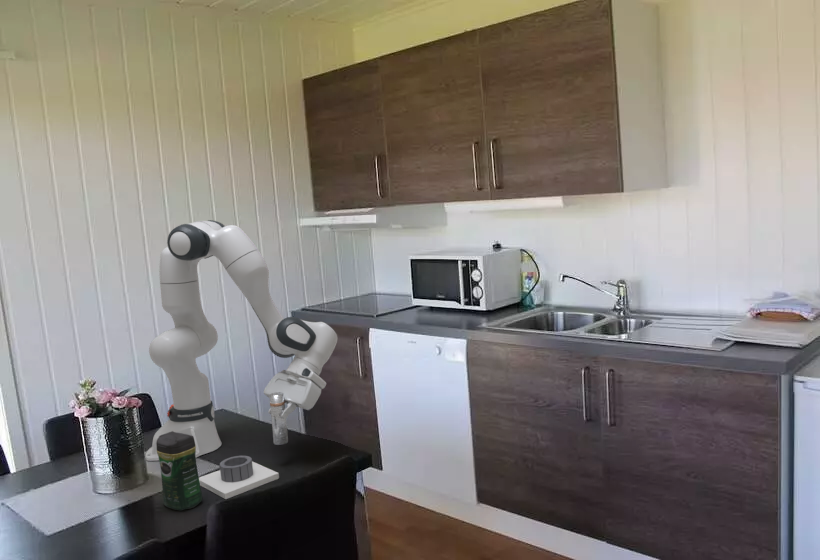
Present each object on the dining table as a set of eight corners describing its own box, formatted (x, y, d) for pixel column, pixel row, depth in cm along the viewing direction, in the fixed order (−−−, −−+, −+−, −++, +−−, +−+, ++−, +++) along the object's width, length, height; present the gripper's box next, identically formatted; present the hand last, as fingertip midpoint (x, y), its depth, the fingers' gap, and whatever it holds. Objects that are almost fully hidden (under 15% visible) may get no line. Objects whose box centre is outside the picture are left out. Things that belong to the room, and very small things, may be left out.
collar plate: (225, 499, 179) (223, 478, 178) (197, 483, 191) (194, 464, 190) (279, 478, 190) (276, 458, 189) (249, 464, 201) (246, 446, 201)
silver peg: (272, 445, 196) (268, 397, 194) (274, 440, 200) (269, 392, 198) (287, 444, 196) (283, 395, 194) (288, 438, 200) (284, 391, 198)
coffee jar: (208, 501, 179) (199, 431, 176) (181, 514, 172) (172, 442, 170) (185, 494, 184) (176, 426, 182) (158, 506, 178) (149, 436, 176)
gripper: (274, 363, 208) (248, 404, 202) (316, 373, 193) (290, 417, 188) (288, 374, 211) (263, 414, 206) (330, 385, 197) (305, 428, 191)
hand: (276, 416), depth 197 cm, fingers closed on silver peg, 4 cm apart
